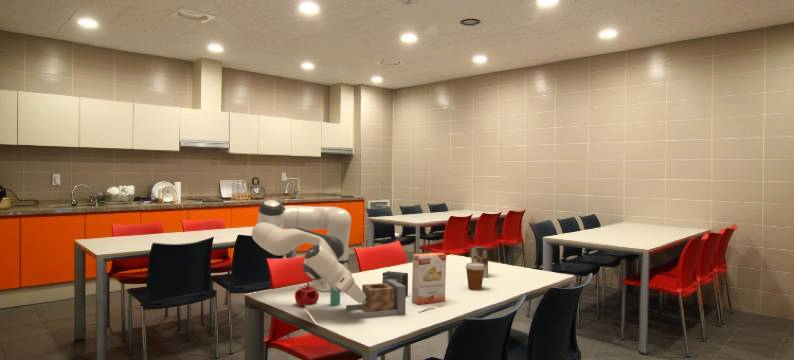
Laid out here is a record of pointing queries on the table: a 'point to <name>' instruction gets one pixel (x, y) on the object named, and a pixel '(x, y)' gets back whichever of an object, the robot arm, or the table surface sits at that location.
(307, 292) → the pomegranate
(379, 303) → the socket block
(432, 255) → the cracker box
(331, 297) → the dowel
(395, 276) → the small box
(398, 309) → the backstop
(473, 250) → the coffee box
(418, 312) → the fork
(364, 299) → the robot arm
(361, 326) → the table surface
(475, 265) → the disposable coffee cup
